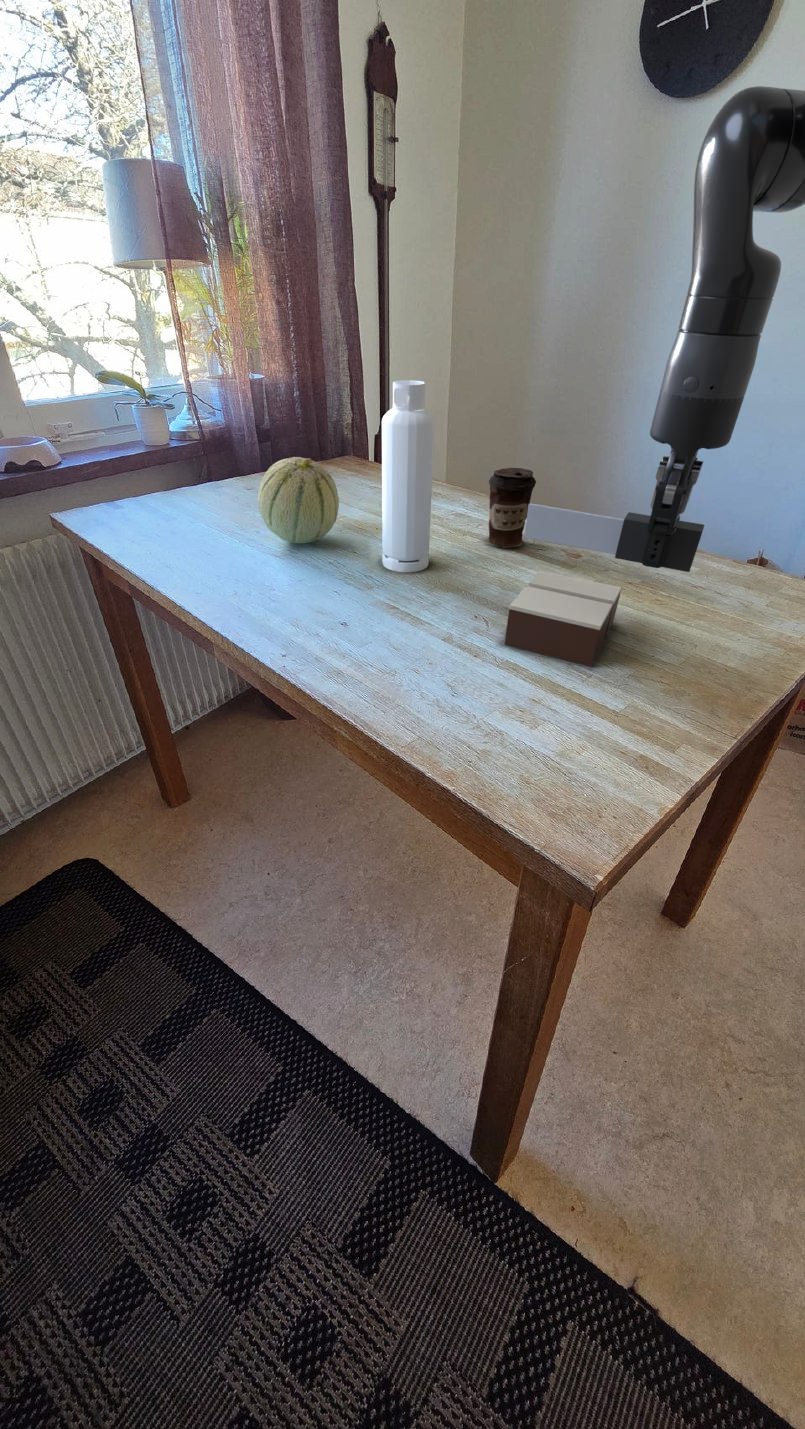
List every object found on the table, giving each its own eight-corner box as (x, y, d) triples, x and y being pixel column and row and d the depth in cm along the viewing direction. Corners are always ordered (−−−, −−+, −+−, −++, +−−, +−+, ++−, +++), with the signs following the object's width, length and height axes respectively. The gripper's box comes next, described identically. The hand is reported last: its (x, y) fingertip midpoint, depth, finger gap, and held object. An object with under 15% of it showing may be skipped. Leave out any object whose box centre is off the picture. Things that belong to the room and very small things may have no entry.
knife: (691, 564, 67) (704, 524, 65) (689, 572, 65) (702, 532, 63) (527, 533, 74) (533, 496, 71) (521, 540, 72) (526, 502, 69)
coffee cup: (530, 552, 111) (541, 479, 103) (485, 551, 111) (492, 478, 103) (523, 535, 118) (533, 465, 110) (481, 534, 118) (487, 464, 110)
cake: (603, 643, 84) (612, 604, 80) (591, 667, 79) (600, 626, 75) (520, 623, 88) (526, 585, 84) (504, 644, 83) (509, 605, 79)
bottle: (437, 561, 106) (446, 382, 90) (410, 576, 101) (415, 388, 84) (400, 551, 110) (403, 377, 93) (373, 564, 105) (370, 382, 88)
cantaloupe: (277, 524, 120) (268, 444, 111) (348, 529, 119) (345, 448, 110) (250, 552, 108) (238, 464, 100) (329, 558, 107) (324, 469, 98)
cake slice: (612, 625, 88) (622, 587, 85) (604, 640, 85) (614, 600, 81) (533, 607, 92) (539, 570, 89) (523, 620, 89) (528, 582, 85)
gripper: (742, 404, 51) (681, 592, 61) (748, 382, 61) (694, 546, 71) (650, 395, 54) (607, 576, 64) (670, 375, 64) (630, 535, 74)
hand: (653, 560), depth 68 cm, fingers closed on knife, 2 cm apart
